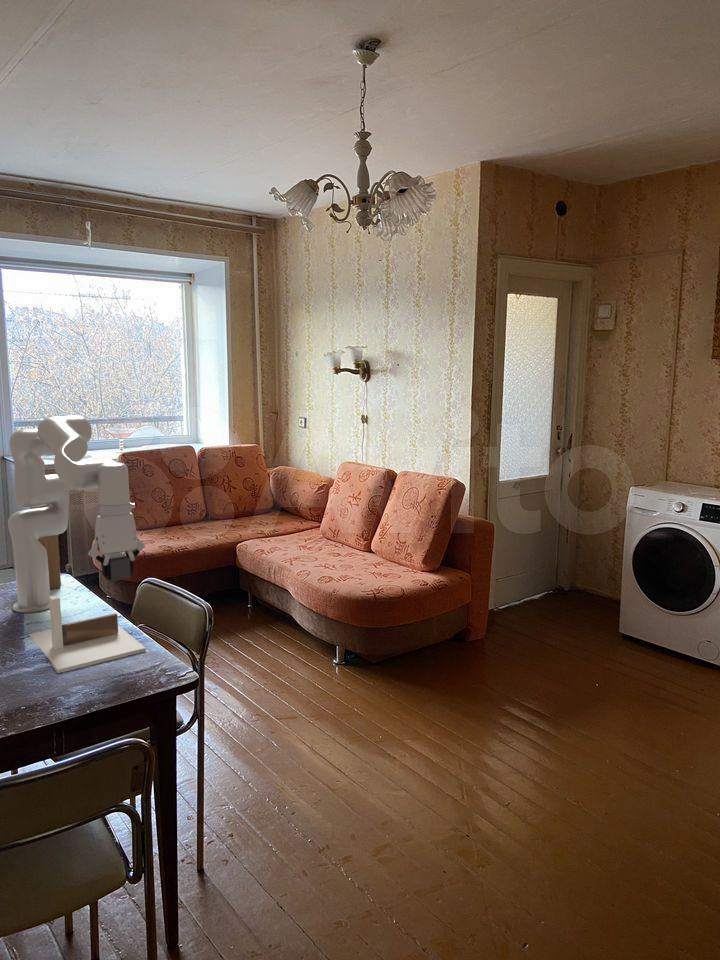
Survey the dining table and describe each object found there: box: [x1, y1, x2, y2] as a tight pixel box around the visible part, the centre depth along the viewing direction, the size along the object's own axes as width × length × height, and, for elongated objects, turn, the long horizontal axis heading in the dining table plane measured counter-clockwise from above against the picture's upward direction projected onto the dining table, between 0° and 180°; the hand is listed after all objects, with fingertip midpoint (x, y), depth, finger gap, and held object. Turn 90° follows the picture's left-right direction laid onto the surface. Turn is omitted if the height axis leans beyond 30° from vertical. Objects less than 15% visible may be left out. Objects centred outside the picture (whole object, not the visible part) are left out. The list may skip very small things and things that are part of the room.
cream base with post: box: [28, 595, 146, 674], centre depth 193 cm, size 30×22×15 cm
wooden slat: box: [62, 612, 119, 645], centre depth 194 cm, size 1×15×6 cm, turn 128°
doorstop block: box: [100, 552, 132, 582], centre depth 188 cm, size 8×5×6 cm, turn 38°
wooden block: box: [38, 534, 62, 590], centre depth 243 cm, size 10×10×20 cm
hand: (118, 575), depth 187 cm, fingers closed on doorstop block, 5 cm apart
